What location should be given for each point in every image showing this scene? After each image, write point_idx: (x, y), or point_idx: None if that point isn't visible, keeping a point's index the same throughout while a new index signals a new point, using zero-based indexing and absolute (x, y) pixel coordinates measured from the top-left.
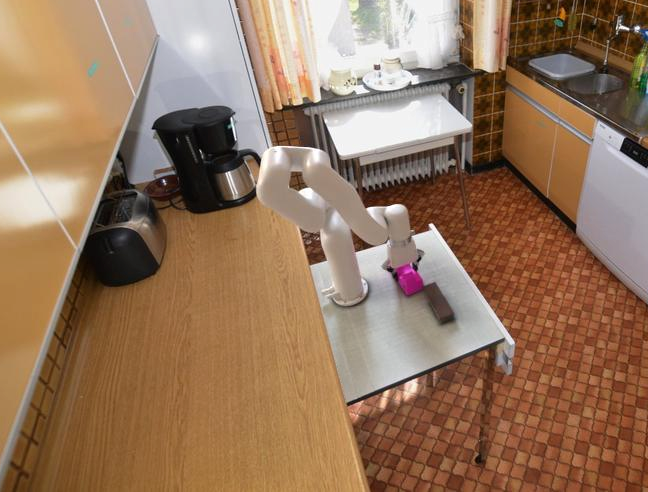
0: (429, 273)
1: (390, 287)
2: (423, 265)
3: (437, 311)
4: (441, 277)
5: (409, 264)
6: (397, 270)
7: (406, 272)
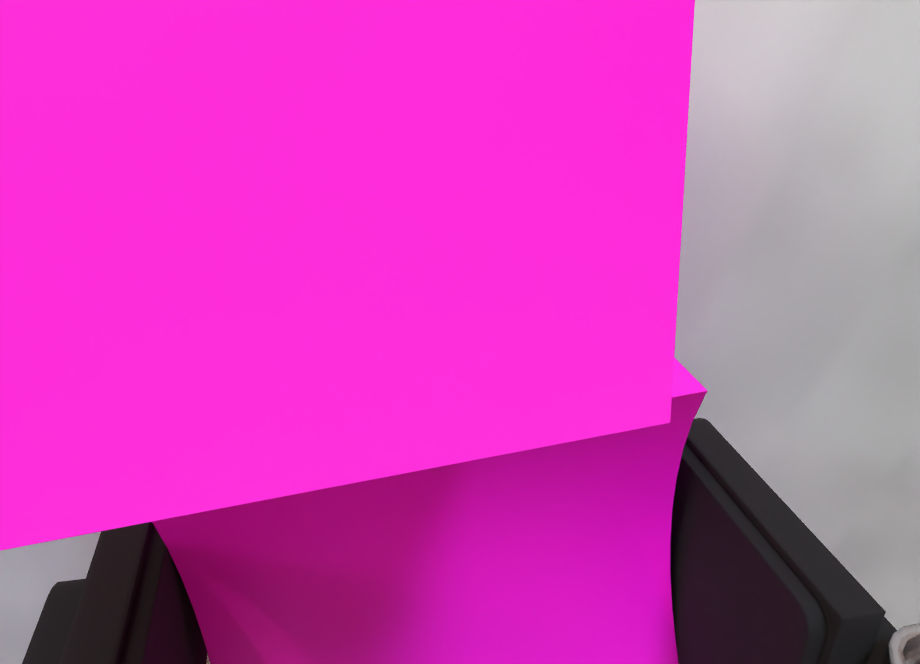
0: (836, 491)
1: (6, 578)
2: (881, 270)
3: None
4: (915, 609)
5: (678, 418)
6: (257, 510)
7: (476, 598)
